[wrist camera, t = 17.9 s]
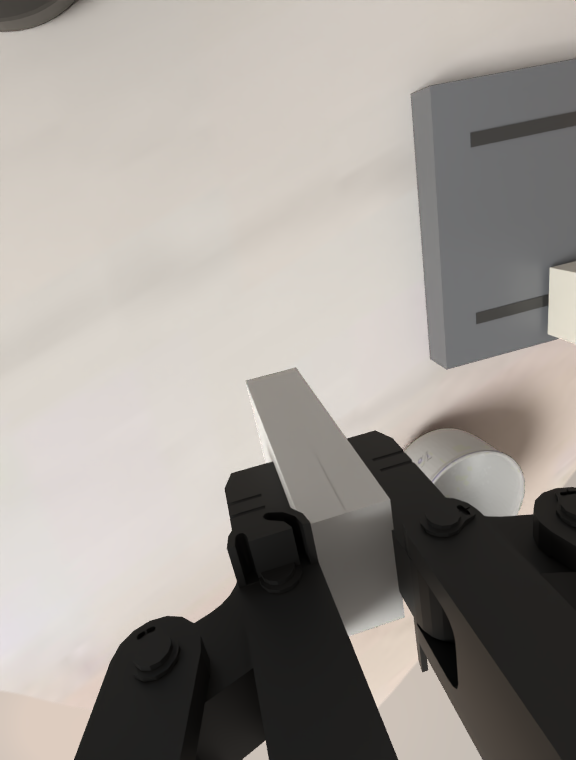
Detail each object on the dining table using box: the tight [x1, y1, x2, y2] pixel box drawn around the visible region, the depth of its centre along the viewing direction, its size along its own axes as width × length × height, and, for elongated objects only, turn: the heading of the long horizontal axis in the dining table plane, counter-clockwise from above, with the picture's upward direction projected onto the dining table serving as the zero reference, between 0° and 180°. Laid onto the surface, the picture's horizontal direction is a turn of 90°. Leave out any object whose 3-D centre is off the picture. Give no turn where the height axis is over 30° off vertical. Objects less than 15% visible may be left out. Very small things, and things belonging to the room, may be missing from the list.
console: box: [411, 59, 576, 369], centre depth 41 cm, size 22×24×3 cm
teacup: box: [404, 428, 525, 517], centre depth 47 cm, size 14×11×8 cm
